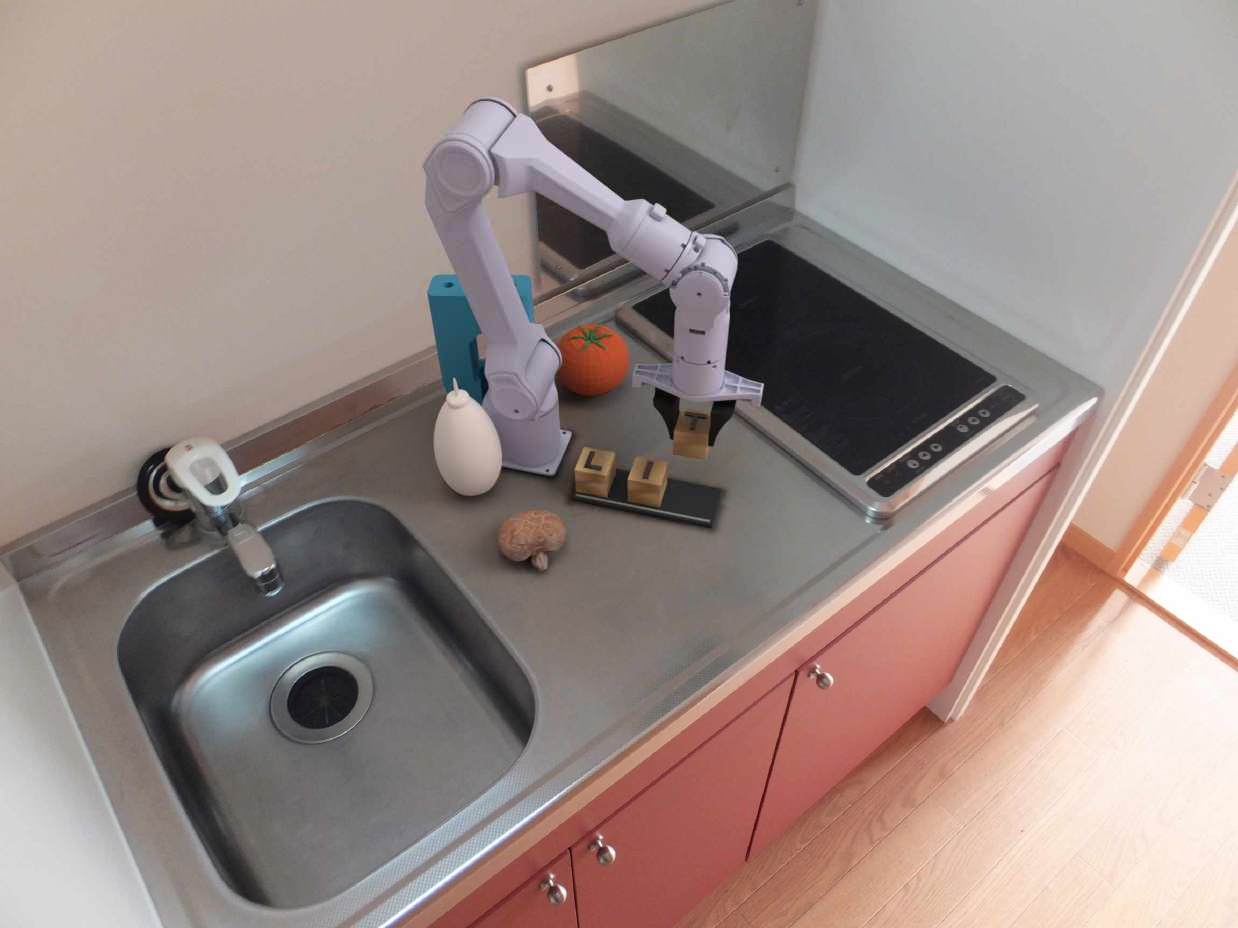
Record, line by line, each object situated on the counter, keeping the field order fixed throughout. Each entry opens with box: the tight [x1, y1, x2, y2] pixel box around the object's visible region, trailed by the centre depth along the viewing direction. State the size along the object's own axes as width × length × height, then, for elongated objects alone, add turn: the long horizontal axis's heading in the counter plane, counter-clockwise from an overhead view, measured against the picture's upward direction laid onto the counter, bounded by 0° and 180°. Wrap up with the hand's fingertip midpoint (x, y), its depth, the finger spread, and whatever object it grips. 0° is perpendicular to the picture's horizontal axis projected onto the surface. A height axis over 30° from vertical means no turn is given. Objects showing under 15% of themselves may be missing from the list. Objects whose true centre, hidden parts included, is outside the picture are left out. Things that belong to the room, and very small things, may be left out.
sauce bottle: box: [433, 378, 502, 497], centre depth 102 cm, size 8×8×18 cm
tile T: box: [672, 407, 711, 461], centre depth 103 cm, size 4×4×4 cm
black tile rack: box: [571, 468, 722, 529], centre depth 107 cm, size 17×6×1 cm, turn 75°
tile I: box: [628, 455, 669, 507], centre depth 105 cm, size 4×4×4 cm
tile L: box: [574, 446, 617, 498], centre depth 107 cm, size 4×4×4 cm
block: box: [426, 273, 535, 407], centre depth 111 cm, size 12×5×20 cm, turn 89°
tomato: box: [556, 322, 631, 397], centre depth 118 cm, size 10×10×10 cm
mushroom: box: [497, 509, 567, 572], centre depth 100 cm, size 8×6×8 cm
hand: (693, 437), depth 104 cm, fingers closed on tile T, 4 cm apart
